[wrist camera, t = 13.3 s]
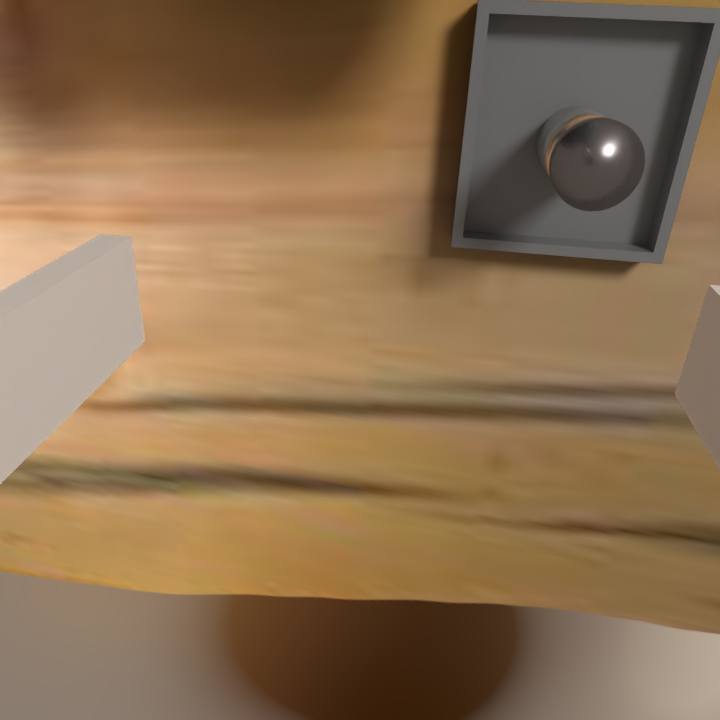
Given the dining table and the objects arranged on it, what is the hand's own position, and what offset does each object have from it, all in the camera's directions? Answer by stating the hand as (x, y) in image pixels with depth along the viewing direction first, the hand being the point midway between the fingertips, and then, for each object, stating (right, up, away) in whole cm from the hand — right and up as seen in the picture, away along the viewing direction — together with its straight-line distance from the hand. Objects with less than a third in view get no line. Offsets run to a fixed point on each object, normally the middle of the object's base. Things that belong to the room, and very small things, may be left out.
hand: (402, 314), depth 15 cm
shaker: (+14, +15, +31) cm, 37 cm away
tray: (+14, +15, +32) cm, 38 cm away
